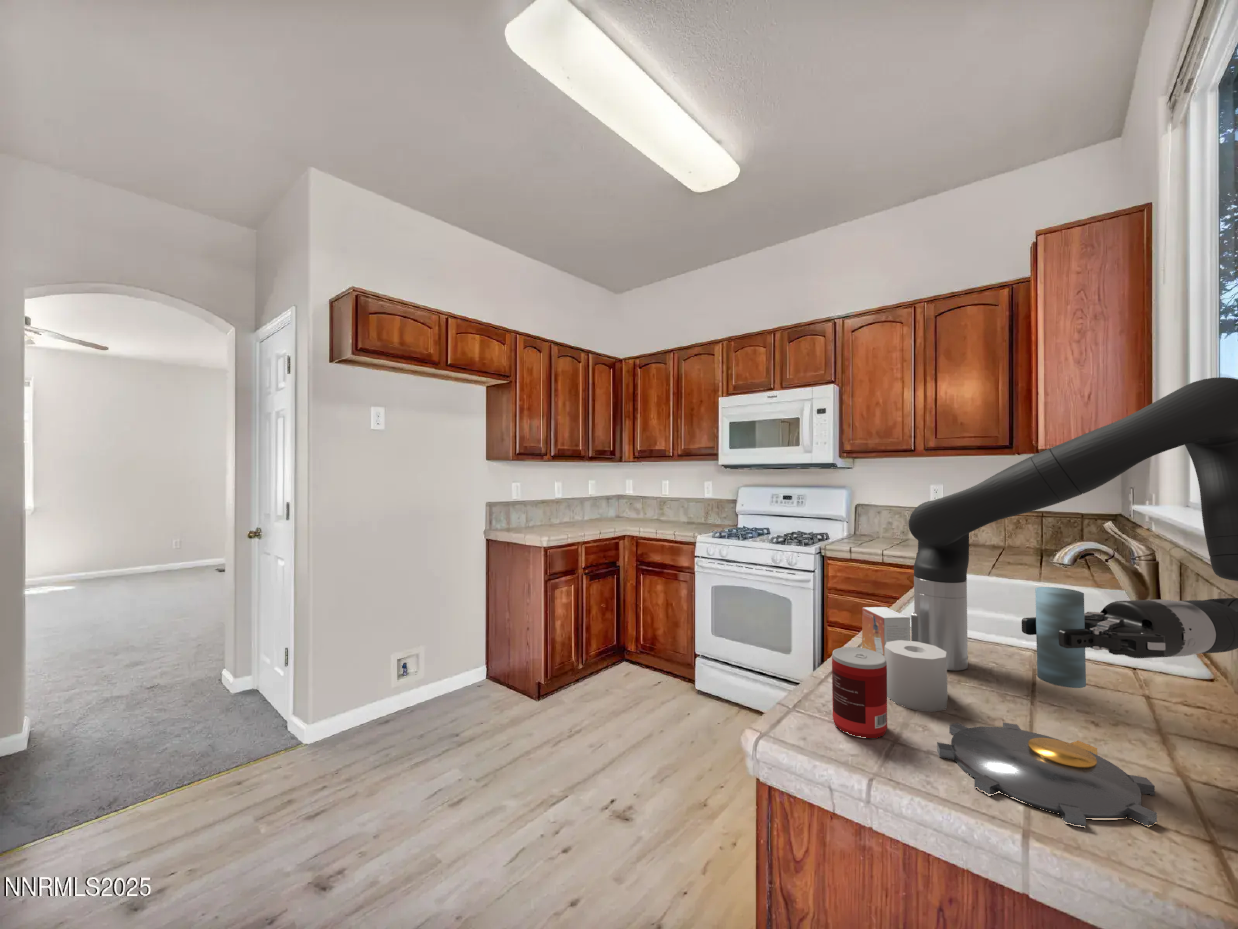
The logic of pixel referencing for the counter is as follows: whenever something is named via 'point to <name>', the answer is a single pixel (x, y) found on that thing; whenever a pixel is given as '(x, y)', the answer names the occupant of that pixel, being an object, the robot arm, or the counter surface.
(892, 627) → the small box
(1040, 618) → the pin
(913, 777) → the counter surface
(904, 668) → the toilet tissue
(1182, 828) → the counter surface
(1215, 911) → the counter surface
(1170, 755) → the counter surface
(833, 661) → the canned food
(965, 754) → the sprocket plate
